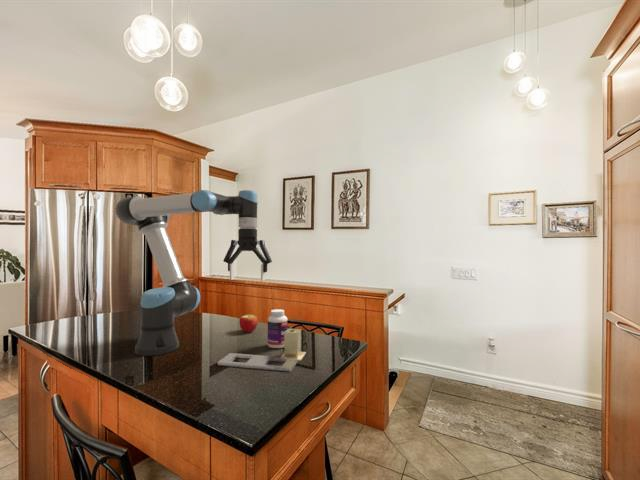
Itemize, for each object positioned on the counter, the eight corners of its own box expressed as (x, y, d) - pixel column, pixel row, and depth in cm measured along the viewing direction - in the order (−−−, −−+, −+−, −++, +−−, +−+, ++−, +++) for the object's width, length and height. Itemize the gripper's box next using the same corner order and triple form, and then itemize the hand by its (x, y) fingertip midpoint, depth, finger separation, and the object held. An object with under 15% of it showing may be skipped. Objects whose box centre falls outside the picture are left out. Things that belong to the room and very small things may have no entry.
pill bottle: (283, 350, 120) (284, 313, 121) (264, 348, 122) (264, 312, 122) (289, 343, 128) (290, 309, 128) (271, 342, 130) (271, 308, 130)
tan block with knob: (288, 352, 117) (288, 328, 117) (301, 353, 116) (301, 329, 116) (284, 356, 112) (284, 332, 112) (297, 358, 111) (297, 333, 111)
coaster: (279, 359, 111) (279, 358, 111) (285, 351, 119) (285, 350, 119) (300, 360, 110) (300, 359, 110) (305, 353, 117) (305, 351, 117)
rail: (217, 365, 105) (217, 362, 105) (230, 355, 114) (230, 352, 114) (290, 371, 100) (290, 368, 100) (297, 361, 109) (297, 358, 109)
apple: (261, 330, 147) (261, 309, 147) (248, 335, 139) (248, 313, 139) (248, 328, 151) (249, 307, 151) (235, 332, 144) (235, 310, 144)
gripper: (215, 228, 125) (214, 280, 125) (273, 227, 121) (273, 281, 120) (224, 228, 133) (223, 277, 132) (279, 228, 128) (279, 279, 128)
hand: (247, 279), depth 126 cm, fingers open, 13 cm apart
